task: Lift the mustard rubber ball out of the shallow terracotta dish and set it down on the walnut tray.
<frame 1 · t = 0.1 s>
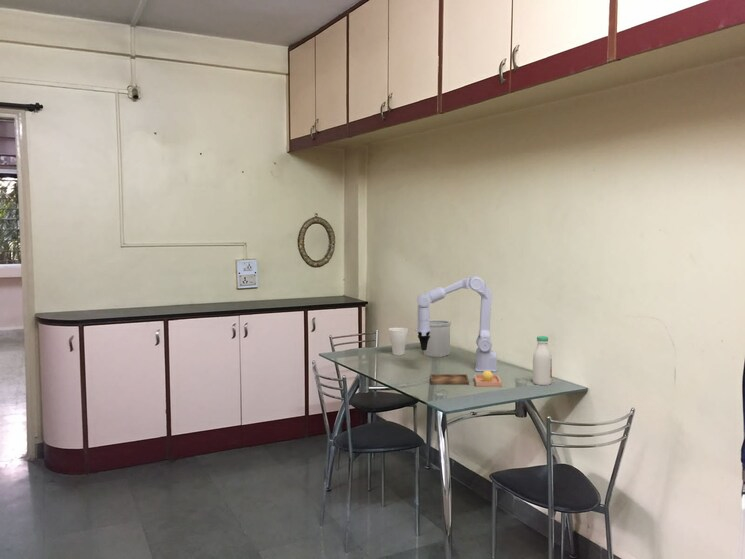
hand: (423, 348, 289), 10 cm above the table, fingers open, 7 cm apart
milk bottle: (542, 383, 263), on the table
utensil holder: (436, 354, 325), on the table
cup: (398, 354, 326), on the table
dish: (487, 382, 264), on the table
tray: (449, 381, 269), on the table
ball: (487, 376, 264), point 3 cm above the table, touching dish
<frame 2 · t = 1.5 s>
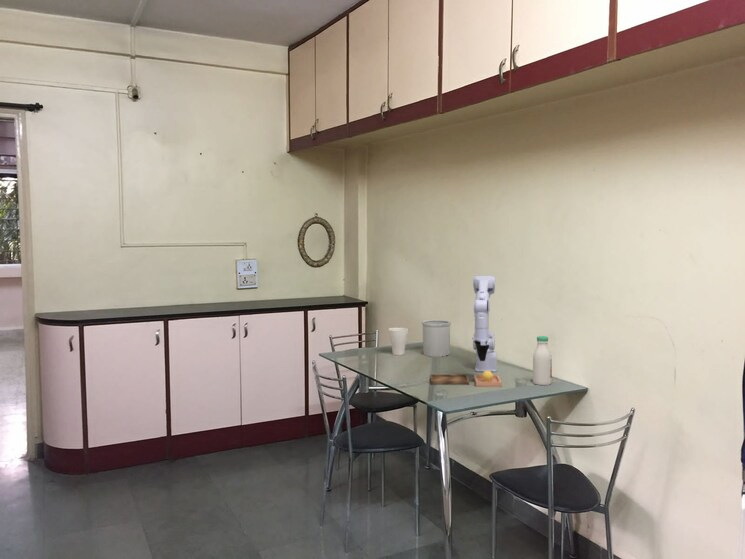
hand: (481, 358, 266), 10 cm above the table, fingers open, 7 cm apart
nothing on the table moved.
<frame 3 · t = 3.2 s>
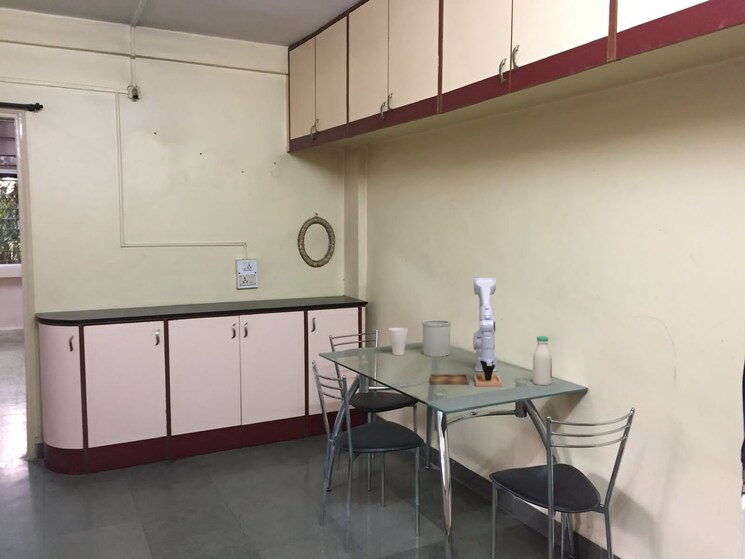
hand: (487, 378, 264), 2 cm above the table, fingers closed on ball, 5 cm apart
ball: (487, 376, 264), point 3 cm above the table, touching dish, gripper
everything else where it was.
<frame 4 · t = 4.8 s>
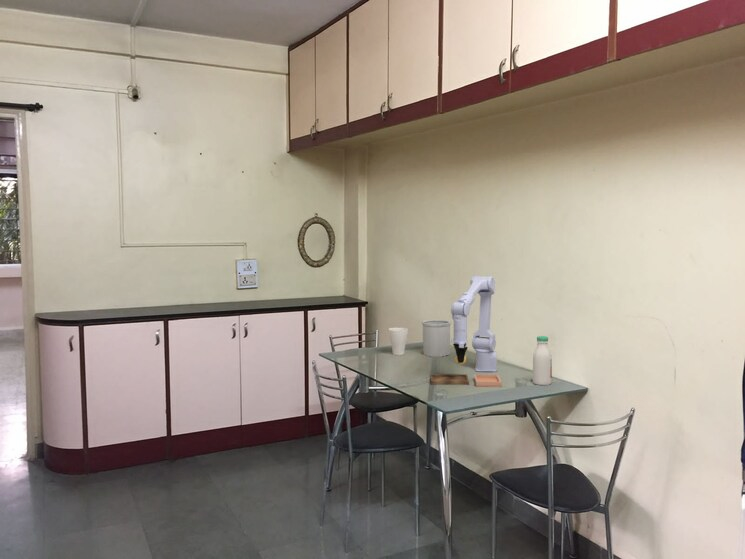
hand: (460, 361, 267), 9 cm above the table, fingers closed on ball, 5 cm apart
ball: (460, 358, 266), point 10 cm above the table, touching gripper
everything else where it was.
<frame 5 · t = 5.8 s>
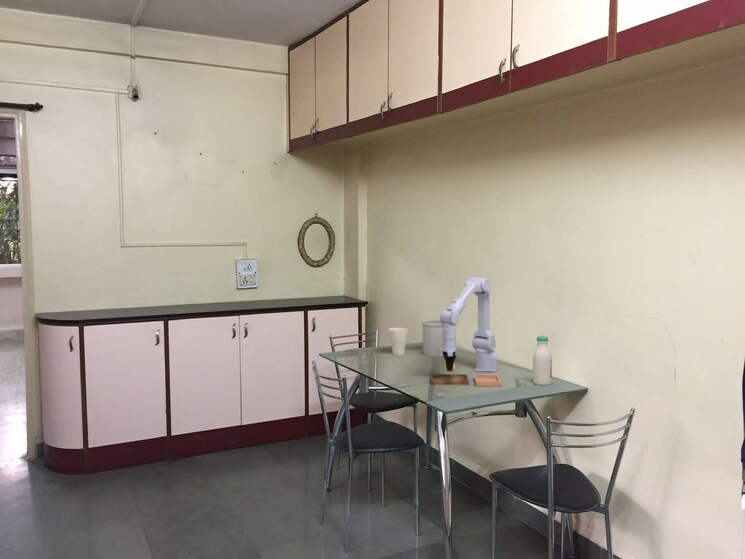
hand: (449, 369, 268), 5 cm above the table, fingers closed on ball, 5 cm apart
ball: (449, 366, 268), point 6 cm above the table, touching gripper
everything else where it was.
when the fingers open (3 cm above the table, at t = 6.6 s): ball drops 2 cm, resting on tray.
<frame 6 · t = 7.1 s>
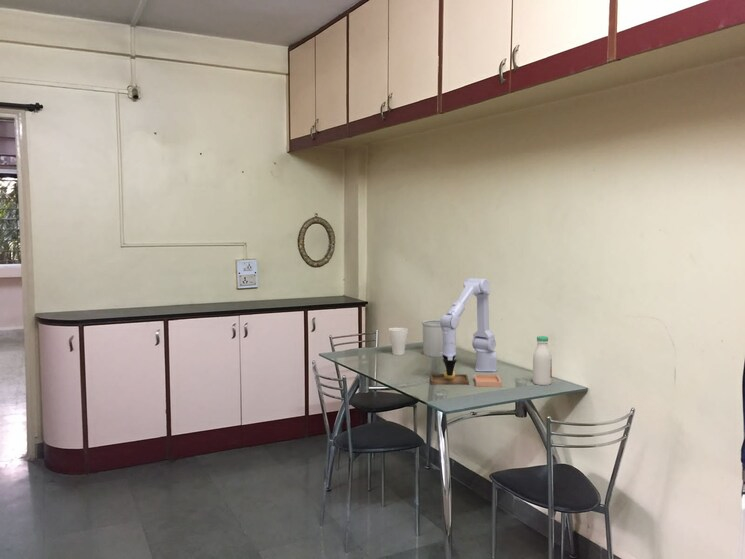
hand: (449, 373, 268), 3 cm above the table, fingers open, 7 cm apart
ball: (449, 374, 268), point 3 cm above the table, touching tray
everything else where it was.
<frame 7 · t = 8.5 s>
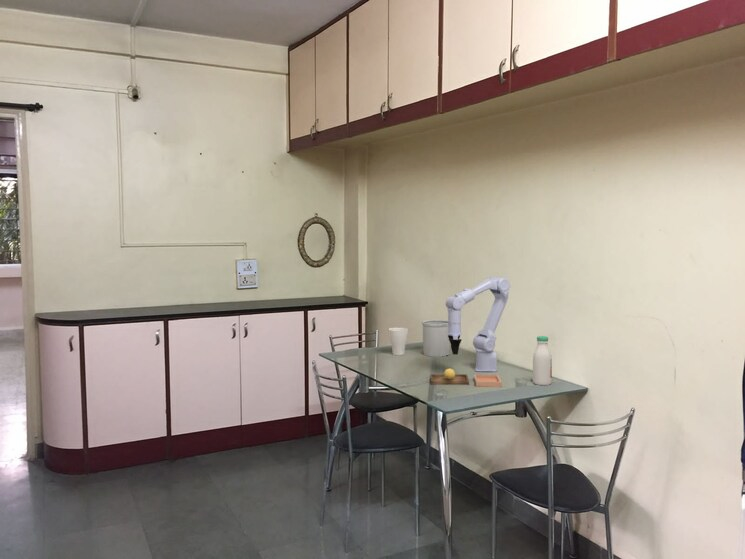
hand: (454, 352, 280), 10 cm above the table, fingers open, 7 cm apart
nothing on the table moved.
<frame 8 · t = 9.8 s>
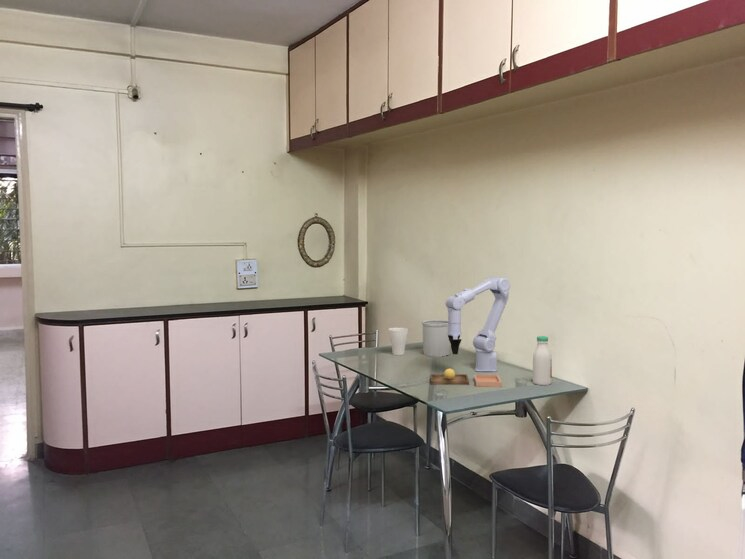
hand: (454, 352, 280), 10 cm above the table, fingers open, 7 cm apart
nothing on the table moved.
at the end: ball inside the target area on the tray (0.1 cm from its centre), point 3.0 cm above the tray's base; the gripper is holding nothing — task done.
